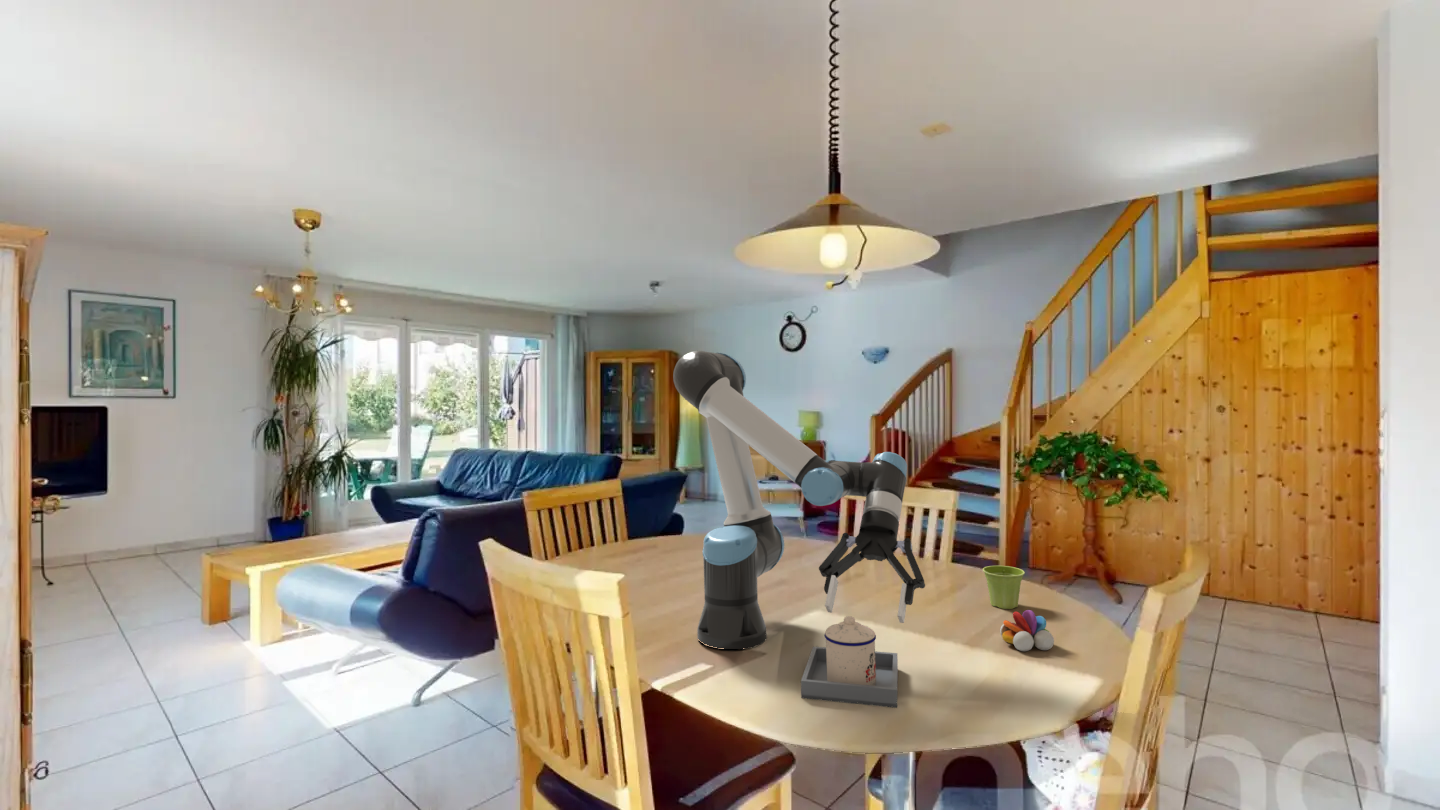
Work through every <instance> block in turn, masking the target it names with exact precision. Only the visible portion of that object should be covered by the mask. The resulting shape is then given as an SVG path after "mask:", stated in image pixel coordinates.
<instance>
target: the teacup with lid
mask: <svg viewBox="0 0 1440 810" xmlns="http://www.w3.org/2000/svg"><path fill="white" fill-rule="evenodd" d="M823 635H824V638H825V647H826V658H827V681H829V682H840V683H851V684H861V685H872V686H875V684H876V664H875V651H876V643H875V642H876V639H877V635H876V632H875V631H874V630H873V629H872V628H871V627H869V626H867V625H864V624H861V623H860V622H858V621H856V618H855V617H854V616H848V615H846V616H844V618H843V621H840V622H838V623H836V624H832V625H830V626H828V627H826V629H825V630H824V634H823Z"/></svg>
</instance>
